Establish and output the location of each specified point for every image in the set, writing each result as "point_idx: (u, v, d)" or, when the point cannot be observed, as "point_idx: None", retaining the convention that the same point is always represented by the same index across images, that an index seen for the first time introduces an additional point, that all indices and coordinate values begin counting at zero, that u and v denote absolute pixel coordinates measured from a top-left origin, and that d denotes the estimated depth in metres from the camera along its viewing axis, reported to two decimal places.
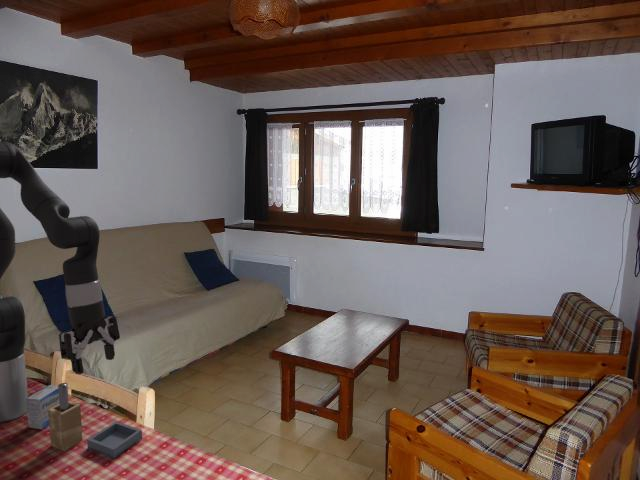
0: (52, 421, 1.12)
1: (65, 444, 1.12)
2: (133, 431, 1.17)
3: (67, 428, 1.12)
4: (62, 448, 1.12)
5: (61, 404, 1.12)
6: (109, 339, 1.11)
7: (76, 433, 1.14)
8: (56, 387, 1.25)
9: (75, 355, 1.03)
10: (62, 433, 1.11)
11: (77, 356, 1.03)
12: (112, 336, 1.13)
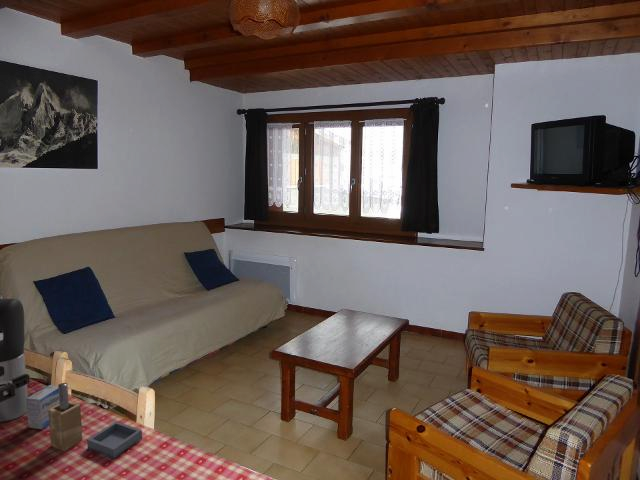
0: (52, 421, 1.12)
1: (65, 444, 1.12)
2: (133, 431, 1.17)
3: (67, 428, 1.12)
4: (62, 448, 1.12)
5: (61, 404, 1.12)
6: None
7: (76, 433, 1.14)
8: (56, 387, 1.25)
9: None
10: (62, 433, 1.11)
11: None
12: (7, 391, 0.94)
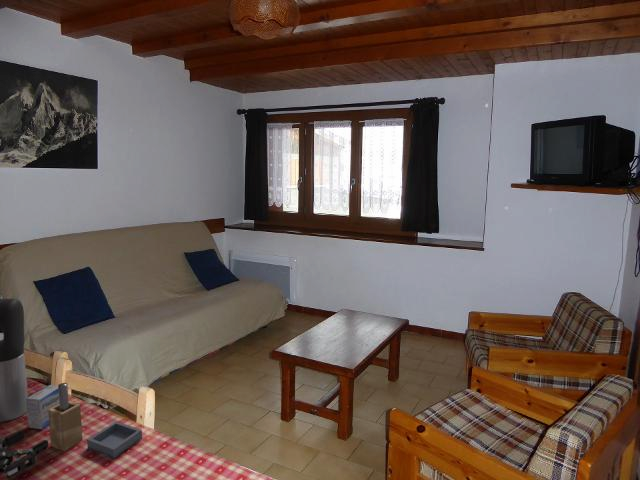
0: (52, 421, 1.12)
1: (65, 444, 1.12)
2: (133, 431, 1.17)
3: (67, 428, 1.12)
4: (62, 448, 1.12)
5: (61, 404, 1.12)
6: None
7: (76, 433, 1.14)
8: (56, 387, 1.25)
9: None
10: (62, 433, 1.11)
11: None
12: (28, 459, 1.00)
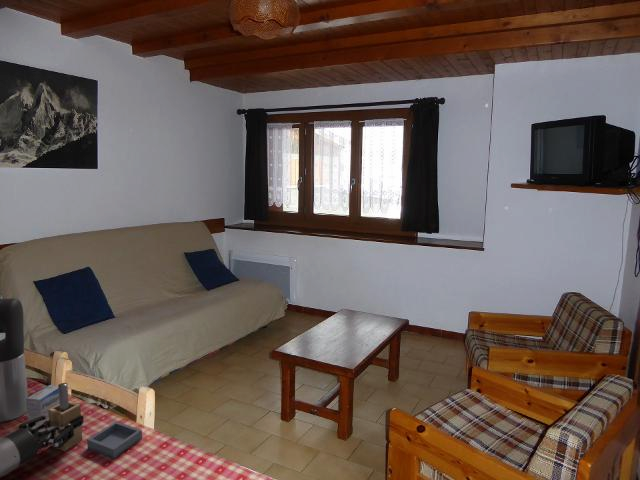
0: (52, 421, 1.12)
1: (65, 444, 1.12)
2: (133, 431, 1.17)
3: None
4: (62, 448, 1.12)
5: (61, 404, 1.12)
6: None
7: (76, 433, 1.14)
8: (56, 387, 1.25)
9: None
10: None
11: None
12: None
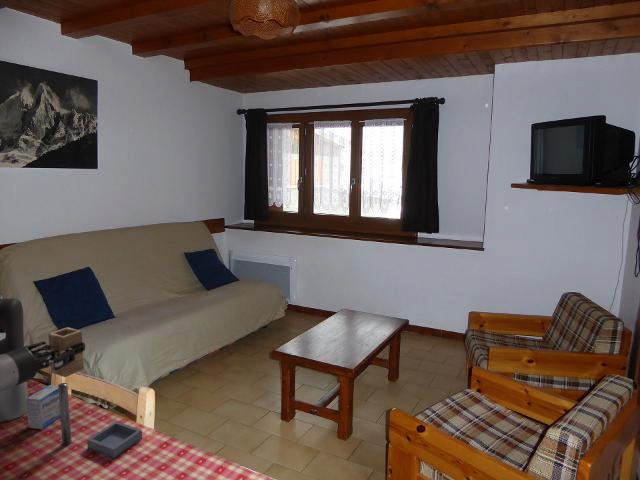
0: (52, 345, 1.08)
1: (66, 369, 1.08)
2: (133, 431, 1.17)
3: None
4: (62, 374, 1.08)
5: (61, 404, 1.12)
6: None
7: (77, 360, 1.11)
8: (56, 387, 1.25)
9: None
10: None
11: None
12: (68, 356, 1.06)
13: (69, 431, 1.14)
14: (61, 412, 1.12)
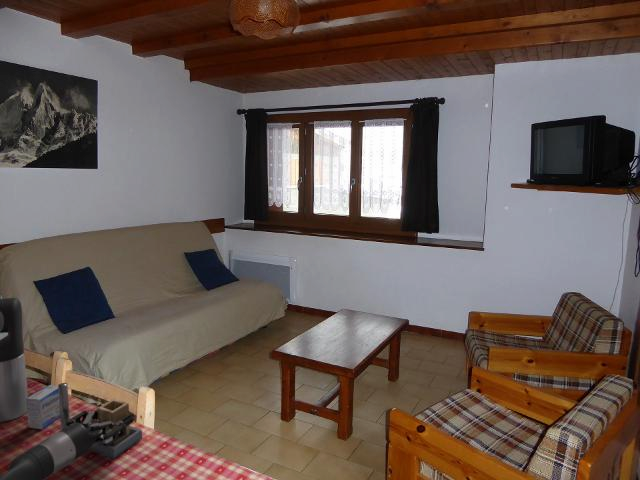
0: (101, 419, 1.12)
1: (115, 442, 1.12)
2: (133, 431, 1.17)
3: None
4: None
5: (61, 404, 1.12)
6: None
7: None
8: (56, 387, 1.25)
9: None
10: None
11: None
12: (120, 430, 1.09)
13: None
14: (61, 412, 1.12)
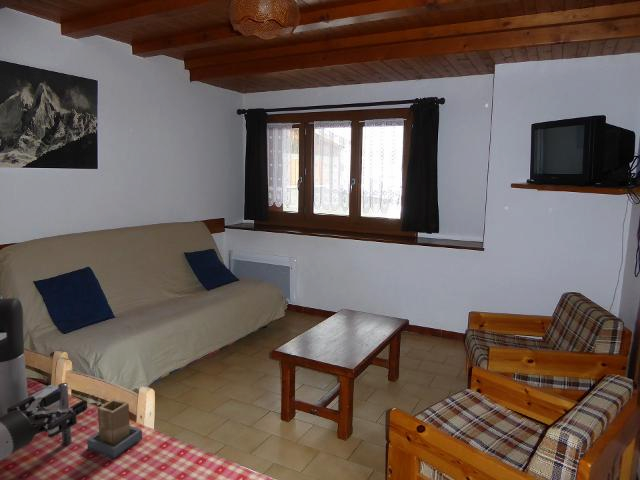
0: (101, 419, 1.12)
1: (115, 442, 1.12)
2: (133, 431, 1.17)
3: (117, 426, 1.12)
4: None
5: (61, 404, 1.12)
6: None
7: (124, 432, 1.15)
8: (56, 387, 1.25)
9: None
10: (112, 431, 1.11)
11: None
12: (69, 419, 0.95)
13: (69, 431, 1.14)
14: None
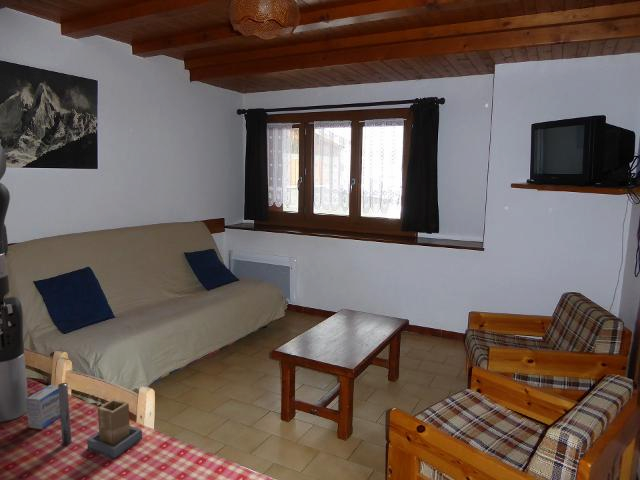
0: (101, 419, 1.12)
1: (115, 442, 1.12)
2: (133, 431, 1.17)
3: (117, 426, 1.12)
4: None
5: (61, 404, 1.12)
6: None
7: (124, 432, 1.15)
8: (56, 387, 1.25)
9: None
10: (112, 431, 1.11)
11: None
12: None
13: (69, 431, 1.14)
14: (61, 412, 1.12)
